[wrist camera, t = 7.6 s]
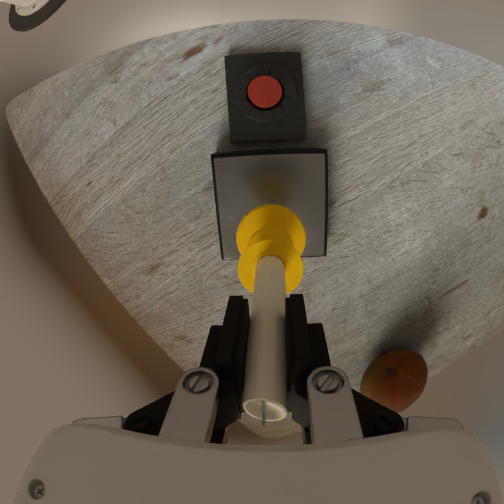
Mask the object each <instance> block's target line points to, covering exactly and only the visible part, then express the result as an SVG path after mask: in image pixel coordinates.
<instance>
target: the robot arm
mask: <svg viewBox="0 0 504 504" xmlns="http://www.w3.org/2000/svg"><path fill="white" fill-rule="evenodd" d="M0 1H2V2H6V3H11V4H14V5H15V9H16V12H17V13H18V14H19V15H22V16H27V15H30V14H33V13H34V12H36V11H38V10H39V9H40V8H42V7H43V6H44V5H45V4H46V3H47V2H48V1H49V0H0ZM249 324H250V317H249V306H248V299H243V296H230V297H229V301H228V305H227V309H226V313H225V317H224V321H223V325H212V326H211V328H210V331H209V335H208V338H207V342H206V345H205V349H204V352H203V356H202V359H201V363H200V366H199V367H198V368H193V369H190V370H188V371H186V372H185V373H184V374H183V375H182V376H181V377H180V379H179V381H178V384H177V387H176V389H175V391H174V392H172V393H170V394H168V395H166V396H164V397H162V398H160V399H158V400H156V401H155V402H153V403H151V404H149V405H147V406H145V407H143V408H141V409H139V410H137V411H134V412H133V413H131V414H130V415H129V416H128V417H127V418H123V417H122V416H111V417H98V418H97V417H96V418H81V419H77V420H75V421H73V422H72V424H68V425H63V426H59V427H57V428H55V429H53V430H52V431H51V432H50V433H49V434H48V435H47V436H46V437H45V438H44V440H43V441H42V443H41V444H40V445H39V447H38V449H37V451H36V452H35V454H34V456H33V458H32V460H31V462H30V464H29V465H28V467H27V469H26V472H25V474H24V476H23V478H22V481H21V483H20V486H19V488H18V491H17V493H16V496H15V498H14V501H13V503H12V504H504V502H503V498H502V494H501V490H500V487H499V483H498V479H497V477H496V474H495V471H494V468H493V466H492V463H491V461H490V458H489V456H488V454H487V452H486V450H485V448H484V447H483V445H482V443H481V442H480V440H479V439H478V438H477V437H476V436H475V435H474V434H473V433H472V432H470V431H468V430H465V429H464V428H463V425H462V424H461V423H460V422H459V421H458V420H456V419H452V418H435V417H418V416H408V417H407V418H402V417H401V416H400V415H399V414H398V413H396V412H395V411H393V410H391V409H389V408H387V407H385V406H383V405H381V404H379V403H377V402H376V401H374V400H372V399H370V398H368V397H366V396H364V395H363V394H361V393H359V392H357V391H355V390H353V389H352V388H351V387H350V383H349V379H348V377H347V375H346V374H345V373H344V372H343V371H342V370H340V369H339V368H336V367H332V366H331V363H330V358H329V353H328V348H327V344H326V339H325V334H324V329H323V325H322V323H313V324H307V317H306V311H305V305H304V298H303V294H290V298H285V328H286V351H287V379H288V402H287V411H288V412H292V419H293V420H294V421H295V422H297V423H298V424H300V425H301V426H302V428H301V430H302V441H303V445H285V446H248V445H228V444H227V442H228V436H229V431H230V424H232V423H233V422H235V421H236V420H237V419H241V412H246V411H245V410H244V408H243V406H242V396H243V379H244V368H245V359H246V350H247V342H248V333H249Z"/></svg>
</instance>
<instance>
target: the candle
mask: <svg viewBox="0 0 504 504" xmlns="http://www.w3.org/2000/svg"><path fill="white" fill-rule="evenodd" d="M236 243H237V246H238V250H239V252H240V254H241V256H240V258H239V262H238V275H239V279H240V281H241V282H242V284H243V286H244V287H245V288H246V289H247V290H248V291H250V292H251V293H253V295H252V304H251V313H250V324H249V333H248V342H247V350H246V359H245V368H244V379H243V396H242V406H243V408H244V410H245V411H246V412H247V413H248V414H250V415H251V416H253V417H255V418H258V419H261V420H262V425H263V426H265V421H277V420H281V419H283V418H285V417H286V416H287V413H288V411H287V402H288V379H287V351H286V328H285V298H286V294H289V293H290V292H291V291H293V290H294V289H295V288H296V287H297V286H298V284H299V283H300V281H301V279H302V276H303V269H304V267H303V262H302V258H301V255H302V253H303V251H304V248H305V246H306V232H305V228H304V225H303V223H302V221H301V219H300V218H299V217H298V216H297V215H296V214H295V213H294V212H293V211H291V210H290V209H288V208H287V207H284V206H280V205H275V204H267V205H262V206H258V207H256V208H254V209H252V210H250V211H249V212H248V213H247V214H246V215H245V216H244V217H243V219H242V220H241V222H240V224H239V226H238V230H237V233H236Z"/></svg>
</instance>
